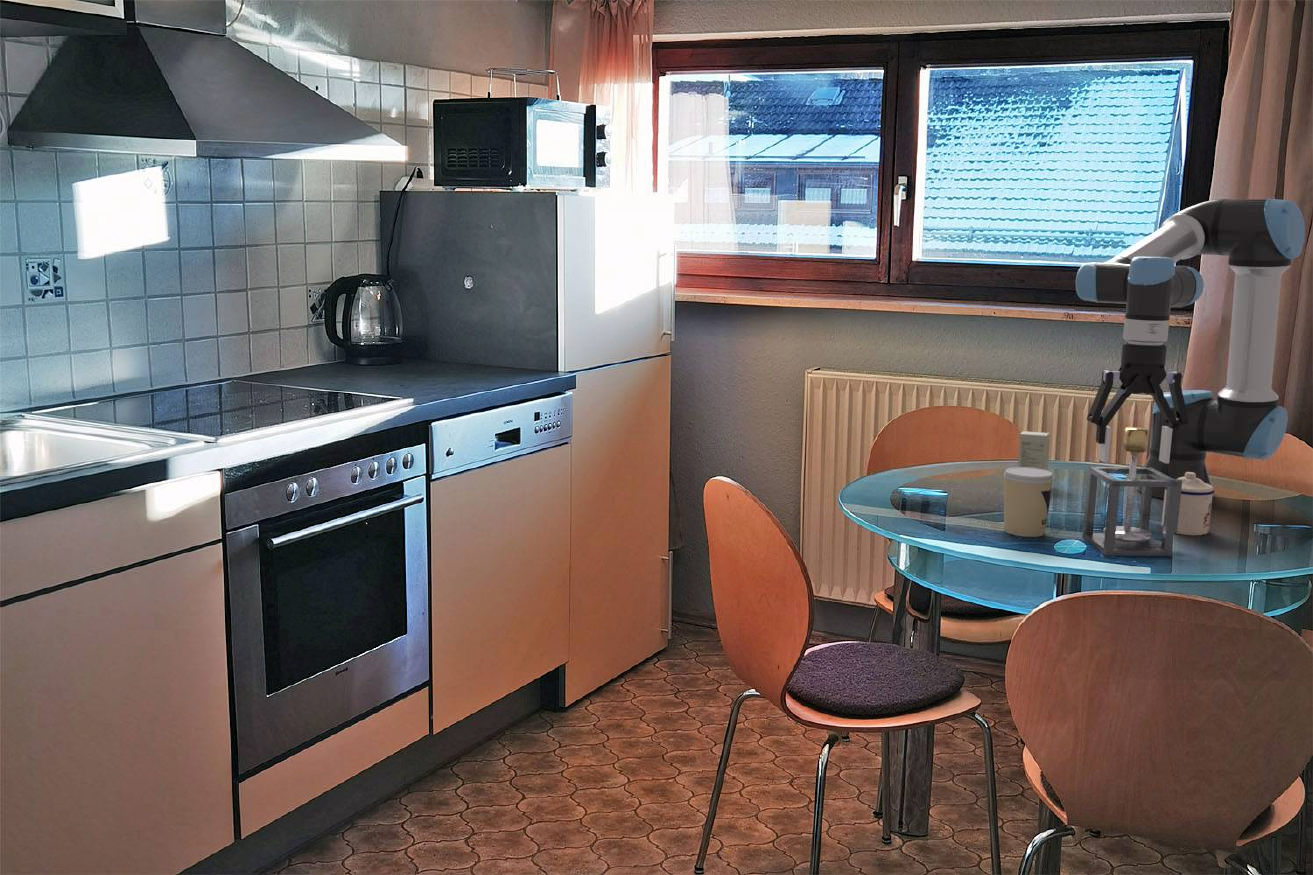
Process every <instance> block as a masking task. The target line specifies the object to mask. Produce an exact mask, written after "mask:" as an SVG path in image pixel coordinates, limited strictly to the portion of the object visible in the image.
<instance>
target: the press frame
mask: <svg viewBox="0 0 1313 875" xmlns="http://www.w3.org/2000/svg"><path fill="white" fill-rule="evenodd" d="M1129 469H1130V466H1088V472H1087V480H1086V482H1087V483H1086V492H1085V494H1086V495H1085V506H1084V518H1083V529H1082V539H1083V540H1085V541H1087V542H1088V543H1089V544H1090V545H1092V546H1093V547H1094V548H1095V549H1096V550H1098V551H1099V552H1101V553H1102V554H1104V555H1105V557H1106V556H1108V557H1109V556H1110V557H1111V556H1112V557H1115V556H1117V557H1123V556H1124V557H1172V554H1173V544H1174V534H1176V533H1177V528H1178V518H1179V508H1180V499H1181V489H1182V480H1180V479H1173V478H1171V477H1169V476H1167V475H1165V474H1163V473H1161V472H1159V471H1157V470H1155V469H1153V468H1151V467H1139V466H1137V469H1136V475H1141V474H1143V480H1138V479H1136V480H1132V479H1129V478H1128V479H1123V478H1122V479H1121V478H1120V479H1119V478H1116V477H1114V476H1112V475H1129ZM1111 474H1112V475H1111ZM1154 478H1155V479H1157V480H1153V479H1154ZM1099 479H1100V480H1101V481H1102V482H1104V483H1106V484H1107V485H1108V493H1107V495H1108V497H1107V503H1106V504H1107V506H1106V514H1105V515H1106V518H1105V527H1104V528H1105V536H1104V535H1103V532H1094V526H1095V525H1094V524H1095V514H1096V505H1097V504H1096V503H1097V493H1098V481H1099ZM1121 487H1123V488H1124V487H1126V488H1128V487H1135V488H1137V487H1142V493H1141V496H1140V497H1141V498H1140V506H1139V507H1140V508H1139V517H1138V527H1137V528H1139V529H1143V530H1146V531H1148V532H1150V531H1149V529H1150V520H1151V519H1150V518H1151V508H1152V497H1153V496H1152V490H1153V487H1167V493H1166V504H1165V514H1164V524H1163V525H1162V524H1156V525H1155V532H1157V533H1158V534H1159V533H1162V537H1161V542H1159V541H1157V540H1156V539H1154V538H1153V537H1151V540H1149V541H1146V542H1125V541H1119V540H1115V535H1116V526H1117V522H1118V513H1119V512H1118V511H1119V500H1120V489H1121Z"/></svg>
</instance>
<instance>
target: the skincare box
mask: <svg viewBox="0 0 1313 875" xmlns="http://www.w3.org/2000/svg"><path fill="white" fill-rule="evenodd" d="M1050 435H1051V433H1050V432H1043V431H1042V432H1038V431H1025V430H1023V431H1021V432H1020V433H1019V437H1018V457H1017V461H1018V462H1017V467H1031V468H1039V469H1044V470H1048V471H1049V458H1050V457H1049V455H1050V438H1051V436H1050Z"/></svg>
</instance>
